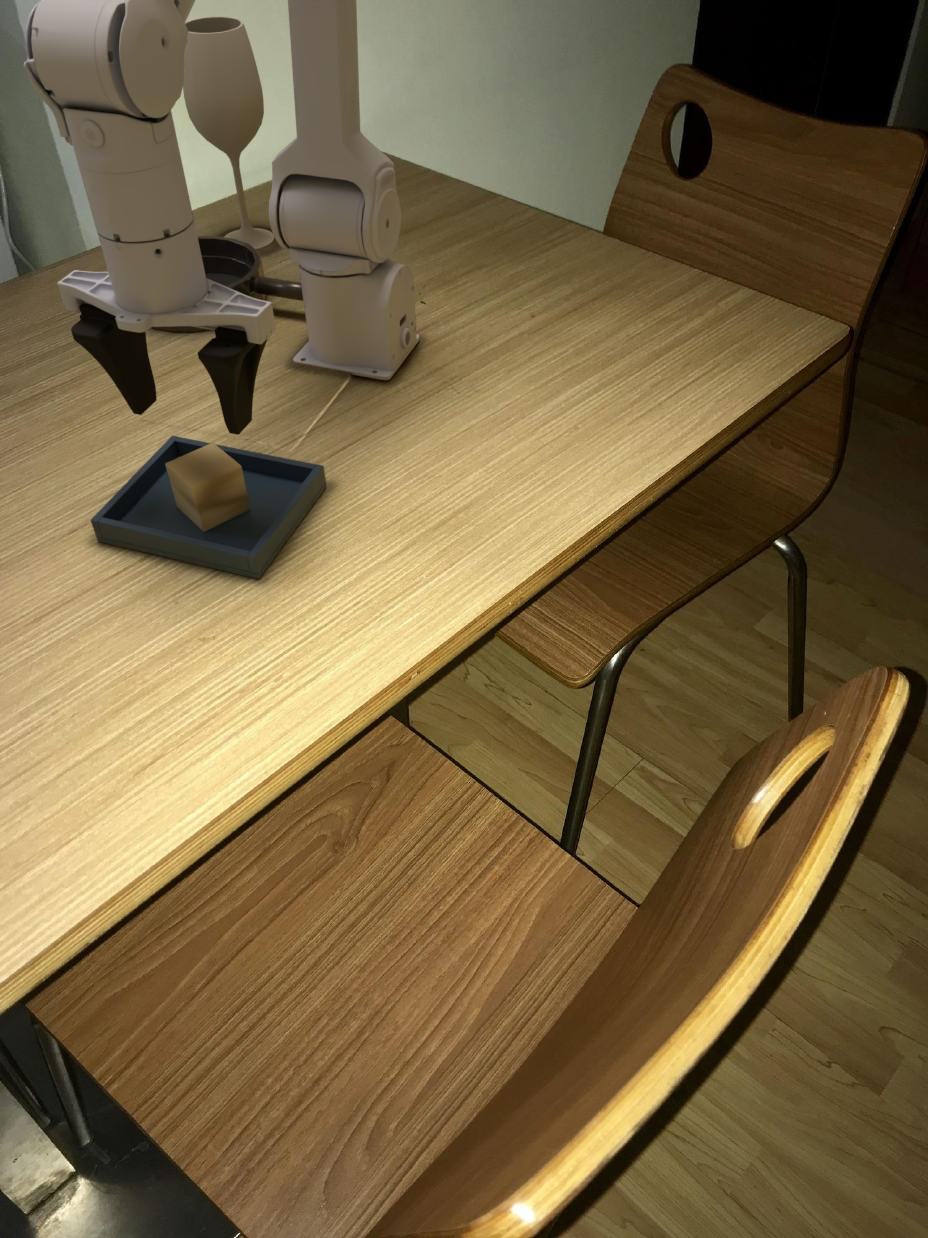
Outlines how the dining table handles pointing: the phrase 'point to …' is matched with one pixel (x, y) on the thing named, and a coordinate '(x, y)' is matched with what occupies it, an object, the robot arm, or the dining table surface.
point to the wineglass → (225, 99)
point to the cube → (208, 486)
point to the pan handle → (277, 288)
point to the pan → (227, 269)
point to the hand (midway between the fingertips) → (192, 416)
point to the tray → (234, 546)
